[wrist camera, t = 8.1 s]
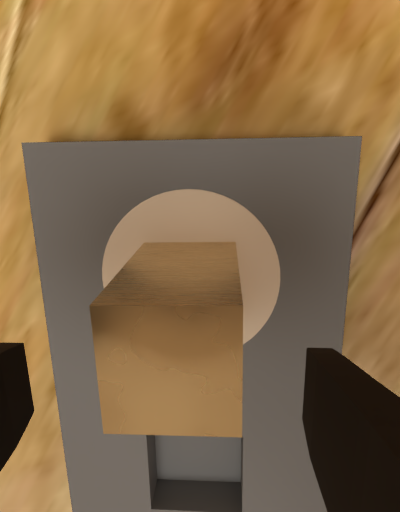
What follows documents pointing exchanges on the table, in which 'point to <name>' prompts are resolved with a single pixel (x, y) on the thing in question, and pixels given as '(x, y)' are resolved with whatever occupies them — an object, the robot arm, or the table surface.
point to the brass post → (171, 342)
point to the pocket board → (253, 295)
